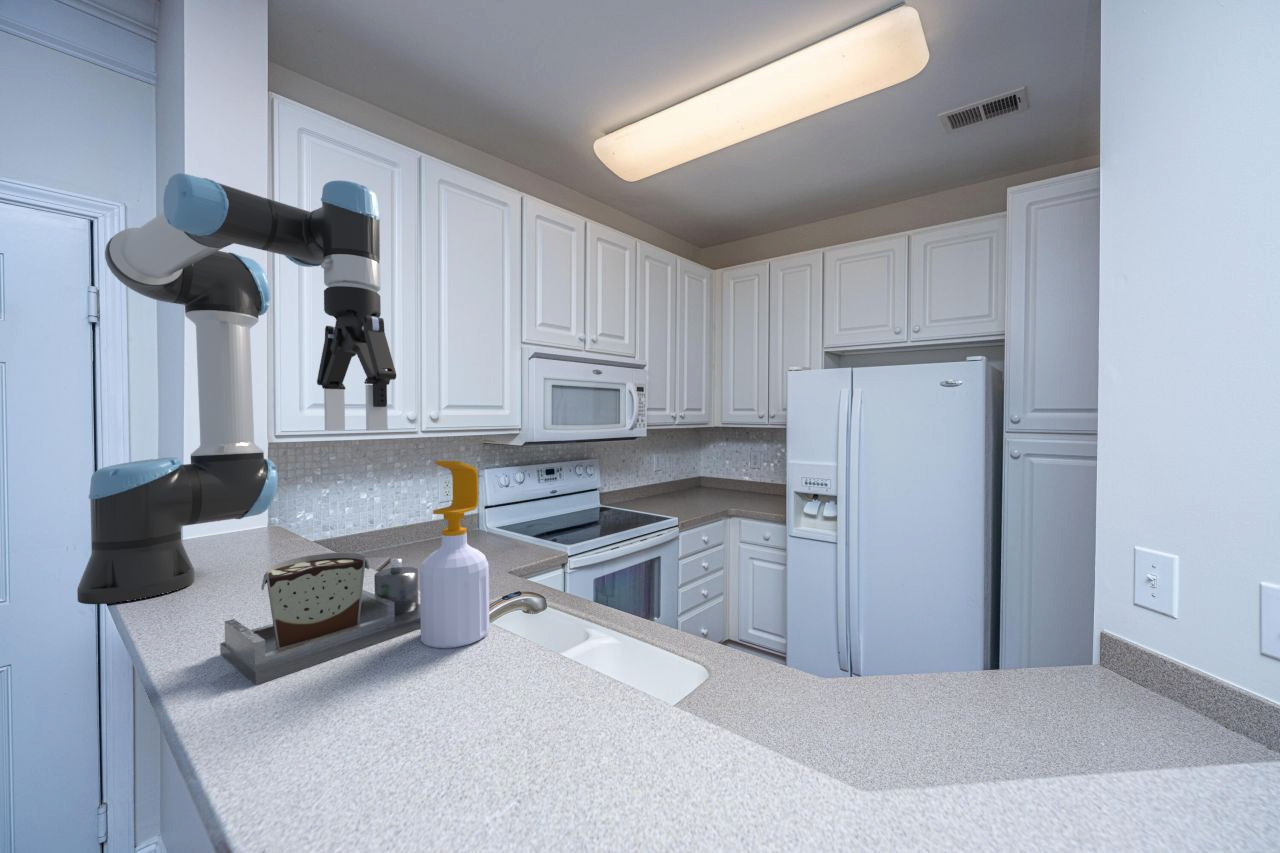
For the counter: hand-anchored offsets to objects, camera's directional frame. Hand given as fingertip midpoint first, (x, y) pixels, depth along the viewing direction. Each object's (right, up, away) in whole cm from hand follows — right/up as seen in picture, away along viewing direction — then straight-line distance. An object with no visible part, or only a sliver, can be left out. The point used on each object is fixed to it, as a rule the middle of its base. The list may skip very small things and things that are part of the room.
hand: (354, 430), depth 79 cm
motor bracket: (+1, -29, -7) cm, 30 cm away
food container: (-1, -28, -9) cm, 29 cm away
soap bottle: (+18, -29, -6) cm, 34 cm away
